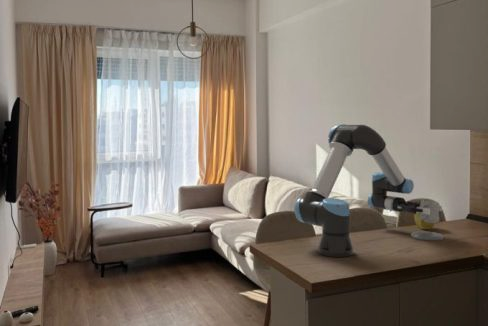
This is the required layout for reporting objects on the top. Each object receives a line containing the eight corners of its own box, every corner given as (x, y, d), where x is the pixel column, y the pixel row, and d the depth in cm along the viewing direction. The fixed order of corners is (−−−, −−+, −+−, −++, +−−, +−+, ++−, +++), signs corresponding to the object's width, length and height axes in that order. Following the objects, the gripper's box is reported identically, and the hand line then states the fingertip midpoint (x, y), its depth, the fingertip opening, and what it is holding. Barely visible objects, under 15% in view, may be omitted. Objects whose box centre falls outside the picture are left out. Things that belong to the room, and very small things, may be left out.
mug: (443, 222, 227) (443, 198, 226) (424, 224, 223) (424, 200, 222) (431, 219, 234) (431, 195, 233) (412, 221, 230) (413, 197, 229)
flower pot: (412, 226, 251) (413, 210, 251) (428, 226, 252) (428, 210, 252) (420, 230, 243) (421, 213, 242) (436, 230, 244) (436, 213, 243)
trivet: (415, 240, 222) (415, 238, 222) (407, 233, 237) (407, 231, 237) (447, 241, 221) (448, 238, 221) (437, 233, 236) (437, 231, 236)
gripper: (407, 208, 249) (447, 214, 233) (382, 214, 234) (423, 221, 218) (407, 194, 249) (447, 199, 232) (382, 199, 234) (423, 205, 217)
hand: (435, 210), depth 225 cm, fingers closed on mug, 11 cm apart
